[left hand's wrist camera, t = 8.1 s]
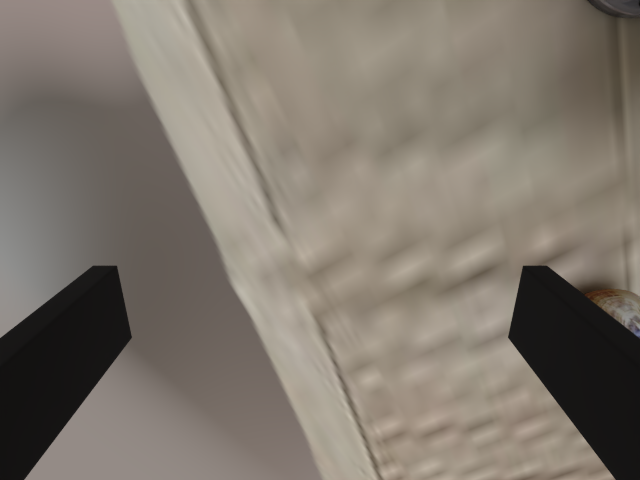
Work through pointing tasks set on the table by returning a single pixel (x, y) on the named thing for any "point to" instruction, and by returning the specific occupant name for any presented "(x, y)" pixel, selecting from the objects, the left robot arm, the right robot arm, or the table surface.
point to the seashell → (619, 306)
